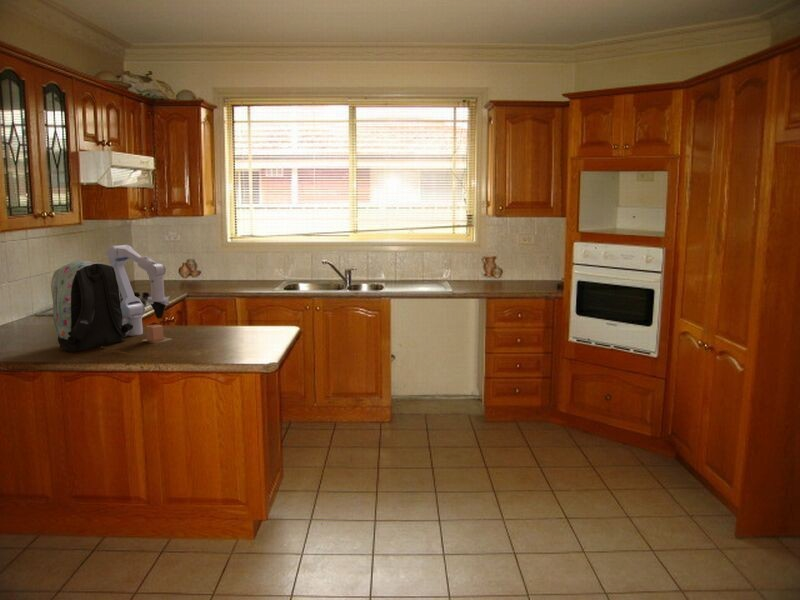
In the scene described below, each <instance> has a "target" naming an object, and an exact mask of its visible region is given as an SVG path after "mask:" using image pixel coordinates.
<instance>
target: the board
mask: <svg viewBox="0 0 800 600" xmlns="http://www.w3.org/2000/svg"><path fill="white" fill-rule="evenodd" d="M171 340H173V338H170V337H165V336H164V340H160V341H156V342H152V341H148V340H147V338H145V339H141V341H142V342H147V343H150V344H157V343H162V342H167V341H171Z"/></svg>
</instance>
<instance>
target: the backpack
mask: <svg viewBox="0 0 800 600" xmlns="http://www.w3.org/2000/svg"><path fill="white" fill-rule="evenodd" d="M50 289H51V297H52V306H53V307H52V309H53V311H52V313H53V314H52V315H53V323H54V328H55V330H56V333H57V342H58V344H59V348H61V349H62V350H64V351H66V352H68V353H73V352H81V351H86V350H89V349H93V348H98V347H102V346H105V345H109V344H115V343H119V342H121V341H123V340H124V338H126V337H127V336H126V332H128V331H129V330H131V329H132V328H133V325H131V324H129V323H127V324H124V325H122V321H123V318H124V317H123V315H122V312H121V302H122V301H121V292H120V289H119V286H118V283H117V280H116V274H115V271H114V268H113V267H112V266H111V265H109V264H105V263H103V262H102V263H101V262H94V261H93V262H92V261H90V260H84V259H82V260H81V259H80V260H75V261H71V262H69V263H67V264H65V265H62V266H61V267H59V268H58V269H56V270H55V271H54V272H53V275H52V277H51V283H50Z"/></svg>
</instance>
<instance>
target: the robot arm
mask: <svg viewBox="0 0 800 600" xmlns="http://www.w3.org/2000/svg"><path fill="white" fill-rule="evenodd" d="M106 256H107V259H108V261H109V264H110V266H112V267H113V268H114V271H115V274H116V280H117V283H118V286H119V292H120V295H121V297H122V301H120V302H121V312H122V316H123V317H122V325H124V324H127V323H129V324H131V325H133V328H132V329H131V330H129V331H128V332H126V337H127V336H140V335H143V334H144V333H143V332H144V328H143V319H142V318H143V316H144V314H145V312H146V307H145V305H144V303H143V302H142V300H141V298H140V297H137V296H135V293H134V290H133V287H132V284H131V282H130V279H129V277H128V274H127V271H126V269H125V264H126V263H128V261H129V259H130V260H131V261H133V262H136V263H137V266H138V268H140V269H142V270H143V271H145V272H146V274H147V275H148V276H147V277H148V279H149V282H150V294H151V296H150V297H149V296H147V302H149V303H150V306H151V308H152V309H153V311H154V313H155V317H156V319H158V320H159V319H162V318H163V316H164V311H165V308H166V306H168V305H170V300H169V299H167V298H168V297H165V286H164V285H165V284H164V282H165V280H164V275H165V274H166V266H165V264H163V262H156V261H155V260H153V259H151V258H150V257H149V256H148V255H146V256H145V255H142V256H141V255H140V254H139V253H138V252H137V251H136V250H134V249H133V247H132V246H130V244H126V243H125V244H119V245H110V246H109V247H108V248H107V250H106ZM151 302H152V303H151Z"/></svg>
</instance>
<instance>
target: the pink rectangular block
mask: <svg viewBox="0 0 800 600" xmlns="http://www.w3.org/2000/svg"><path fill="white" fill-rule="evenodd" d="M145 329H146V339H147V340H148V341H152V342H156V341H160V340H164V337H165V336H164V326H163V325H161V324H152V325H147V326H146V327H145Z"/></svg>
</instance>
